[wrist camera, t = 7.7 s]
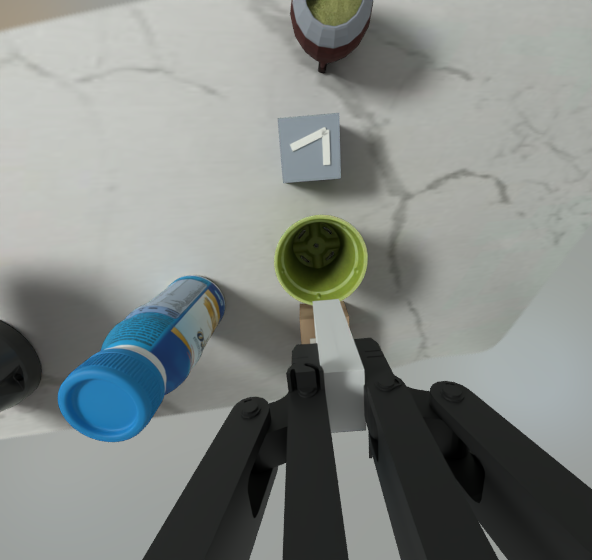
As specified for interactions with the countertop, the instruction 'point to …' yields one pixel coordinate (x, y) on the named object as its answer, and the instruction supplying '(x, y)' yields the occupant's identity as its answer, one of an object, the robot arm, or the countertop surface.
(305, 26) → the mate gourd
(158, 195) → the countertop surface
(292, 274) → the plant pot
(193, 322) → the beverage bottle
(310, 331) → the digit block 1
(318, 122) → the digit block 7
